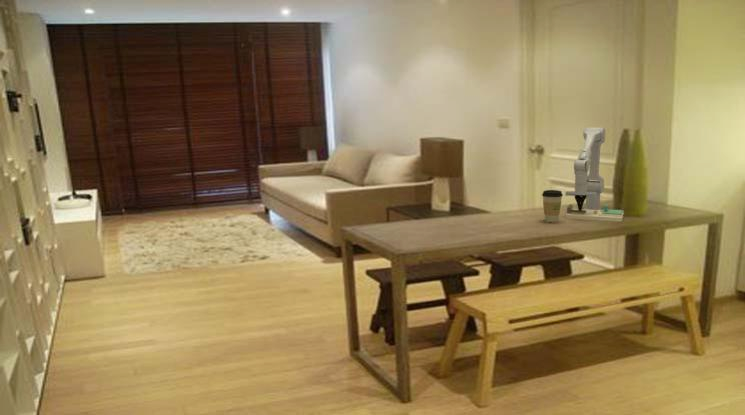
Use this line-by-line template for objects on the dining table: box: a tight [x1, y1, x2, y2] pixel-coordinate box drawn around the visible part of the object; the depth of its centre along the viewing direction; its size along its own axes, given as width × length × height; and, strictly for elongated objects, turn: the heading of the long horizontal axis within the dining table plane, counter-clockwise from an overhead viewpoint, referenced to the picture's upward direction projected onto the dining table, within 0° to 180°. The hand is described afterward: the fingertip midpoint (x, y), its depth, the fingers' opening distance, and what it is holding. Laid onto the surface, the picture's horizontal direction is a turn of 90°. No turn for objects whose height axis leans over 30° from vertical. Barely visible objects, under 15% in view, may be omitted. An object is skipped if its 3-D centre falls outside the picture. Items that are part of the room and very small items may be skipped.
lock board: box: [565, 208, 625, 223], centre depth 310 cm, size 16×26×3 cm, turn 65°
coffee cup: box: [541, 189, 564, 223], centre depth 302 cm, size 10×10×15 cm
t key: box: [566, 203, 586, 214], centre depth 313 cm, size 9×9×3 cm
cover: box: [602, 204, 623, 215], centre depth 305 cm, size 9×9×4 cm
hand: (580, 210), depth 309 cm, fingers closed
